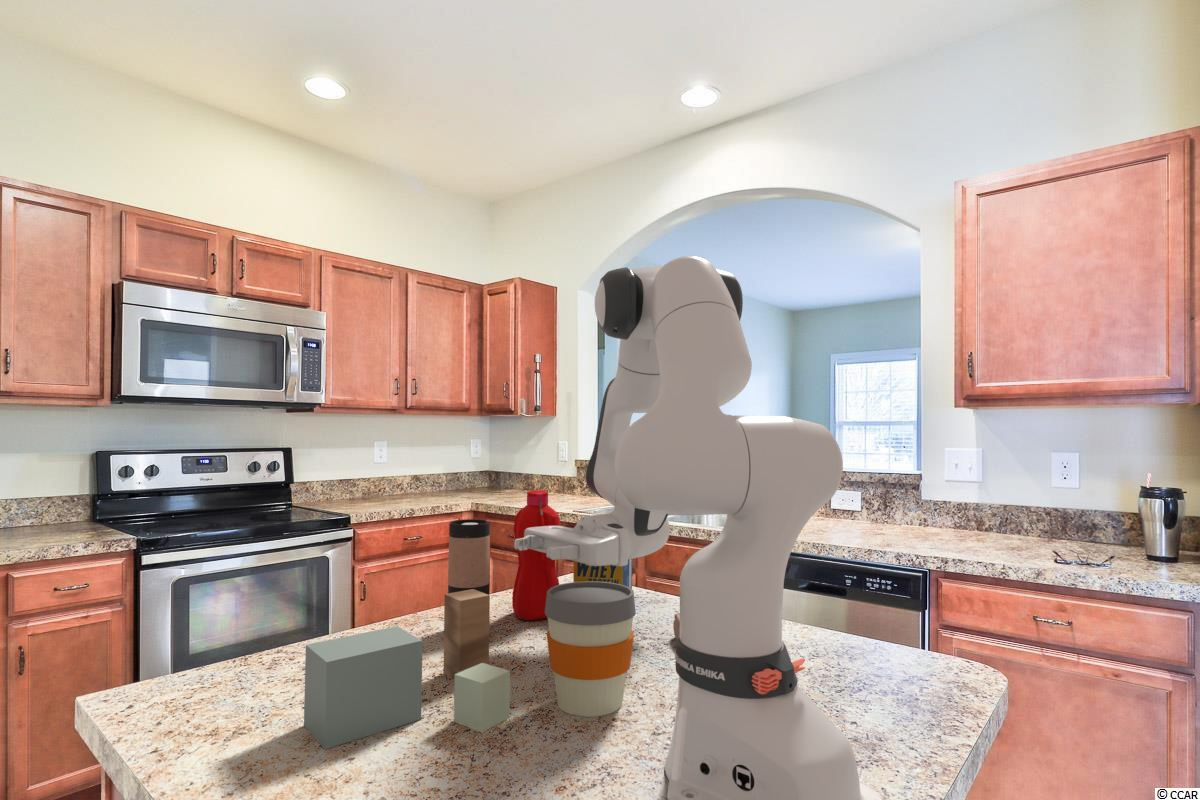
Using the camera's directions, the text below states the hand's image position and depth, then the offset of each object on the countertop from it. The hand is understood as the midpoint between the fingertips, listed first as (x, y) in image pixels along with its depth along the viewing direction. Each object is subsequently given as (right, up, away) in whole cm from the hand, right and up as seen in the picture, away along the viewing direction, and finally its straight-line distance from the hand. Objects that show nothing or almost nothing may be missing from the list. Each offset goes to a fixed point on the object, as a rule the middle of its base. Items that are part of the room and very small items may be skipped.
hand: (532, 549), depth 107 cm
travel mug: (-13, -18, +13) cm, 26 cm away
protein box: (+12, -19, +31) cm, 38 cm away
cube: (-4, -16, -24) cm, 30 cm away
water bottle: (-1, -19, +22) cm, 29 cm away
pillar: (-9, -17, -9) cm, 21 cm away
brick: (+33, -18, +6) cm, 38 cm away
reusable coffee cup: (+10, -17, -19) cm, 27 cm away
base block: (-19, -16, -25) cm, 35 cm away
